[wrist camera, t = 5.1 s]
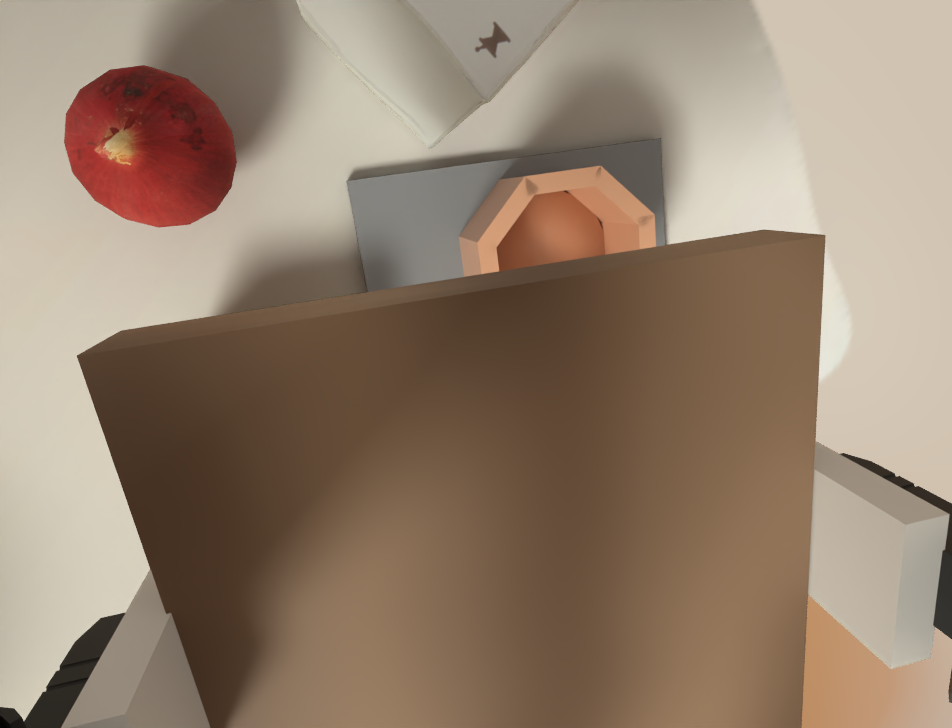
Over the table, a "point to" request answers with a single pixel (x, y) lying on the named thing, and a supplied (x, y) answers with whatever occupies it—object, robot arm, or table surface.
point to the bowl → (554, 221)
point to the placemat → (471, 207)
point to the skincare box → (434, 51)
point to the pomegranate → (150, 146)
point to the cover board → (488, 493)
